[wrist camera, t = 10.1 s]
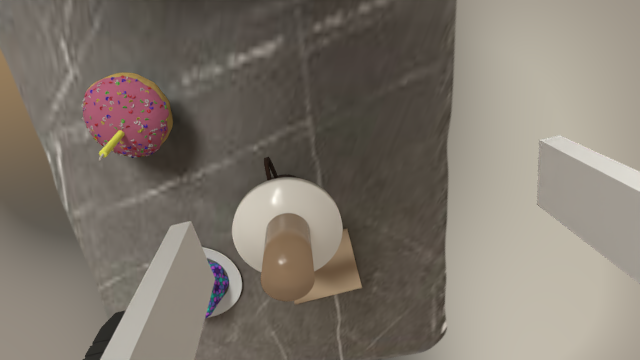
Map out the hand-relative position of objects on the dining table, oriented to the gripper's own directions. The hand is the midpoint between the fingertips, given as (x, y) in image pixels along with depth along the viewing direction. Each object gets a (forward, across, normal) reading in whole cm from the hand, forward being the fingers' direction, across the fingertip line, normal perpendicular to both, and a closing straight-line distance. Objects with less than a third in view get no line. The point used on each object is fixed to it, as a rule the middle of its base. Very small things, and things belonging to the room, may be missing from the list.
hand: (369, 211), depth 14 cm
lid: (+22, -6, -12) cm, 26 cm away
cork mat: (+31, -5, -26) cm, 41 cm away
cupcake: (+32, -20, +1) cm, 37 cm away
